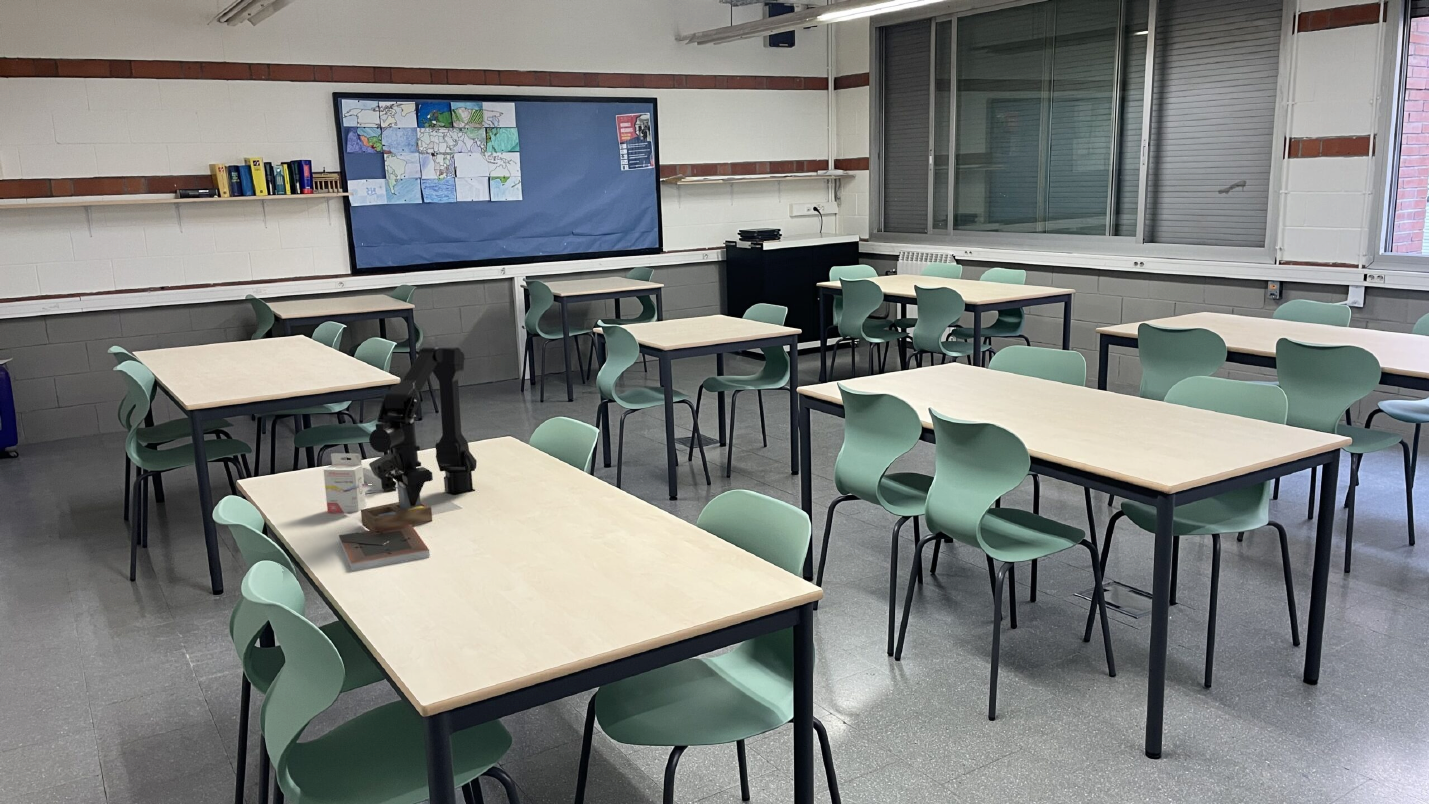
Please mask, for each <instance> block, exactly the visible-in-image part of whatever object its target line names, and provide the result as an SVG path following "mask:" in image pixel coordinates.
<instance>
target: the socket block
mask: <svg viewBox="0 0 1429 804" xmlns="http://www.w3.org/2000/svg"><path fill="white" fill-rule="evenodd" d="M360 517H361V525H362V527H364V528H365V529H367V531H371V530H377V529H383V528H389V527H395V526H401V525H407V524H411V525H412V526H417V525H421V524H426V523H431V522H433V515H432V510H431V507H430V505H428V504H426V503H425V502H423V501H421V506H417V507H413V508H408V509H407V510H402V509H400V508H399V501H398V502H397V501H396V502H392V503H387V504H382V505H377V506H373V507H372V506H371V507H367V508H363V509H362V510H360Z"/></svg>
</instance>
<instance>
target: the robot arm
mask: <svg viewBox="0 0 1429 804" xmlns="http://www.w3.org/2000/svg"><path fill="white" fill-rule="evenodd" d="M465 360H466V359H465V354H464V352H463V351H462V350H461V348H459V347H454V346H453V347H452V346H451V347H449V346H448V347H447V346H446V347H444V346H442V347H441V346H439V347H438V346H423V347H421V348H420V349H419V351H418V355H417V356H416V358H415V360H414V362H413V363H412V365H411V367H410V368H409V370H408V371H407V373H406V374H405V375H404V378H403V379H402V381H401V382H399V383H397V384H396V385H393V386H392V387H390V389H389V390H387V392H386V393H385V395H384V397H383V400H382V402H381V405H380V409H379V413H378V416H377V423H375V429H373V430H372V432H370V434H369V438H368V439H369V440H368V441H369V444H370V446H371V448H372V449H373V450H374V451H375V452H378V453H385V452H387V451H388V453H387V454H385V455H382V456H380V457H378V458H376V459H375V460H373V461H371V462H369V463H368V465H369V468H370V469H371V470H372V472H373V474H374V476H377V477H378V478H382V477H384V476H385V475H386V474H388V473H390V472H391V474H388V475H389V476H390V477H392V478H393V480H394V481H397V484H398V485H399V482H400V483H402V484H403V485H405V486H406V490H407V494H408V498H409V502H410V505H411V506H414V505H416V502H417V500H418V497H419V494H420V495H421V492H422V489H423V486H424V485H425V483H427V482H432V481H433V480H434V479H433V478H434V477H433V472H432V471H431V470H429V469H428V468H426V467H424V466H422V462H421V461H420V460H419V455H418V451H420V449H421V447H420V445H418V444H417V435H416V425H415V423H416V421H419V417H418V416H417V414H416V412H417V410H418V408H419V405H420V403H421V397H420V393H421V391H422V389H423V387H424V386H425V384H426V382H427V381H428V379H429V378H430V376H431V375H432V374H433V376H435V378H436V380H437V381H438V386H439V387H438V388H439V401H440V403H439V404H440V417H441V420H440V421H441V433H442V435H441V437H440V439H439V441H438V442H436V443H435V459H436V462H437V466H438V469H439V472H444V473H445V474H444V475H445V476H444V477H443V483H444V484H443V485H444V492H445V493H448V494H450V495H452V496H458V495H462V494H467V493H472V492H476V489H475V488H474V487H473V475H472V472H475V471H476V469H477V462H478V461H477V459H476V458H475V457H474V455H473V454H472V453H471V451H470V447H469V442H468V441H467V439H466V438H465V437H464V435H463V434H462V425H461V424H462V423H461V406H460V391H459V390H460V389H459V379H460V377H461V375H462V374H463V372H464V365H465V364H464V363H465Z"/></svg>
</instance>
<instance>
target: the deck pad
mask: <svg viewBox="0 0 1429 804" xmlns="http://www.w3.org/2000/svg"><path fill="white" fill-rule="evenodd" d="M429 506H430V507H431V510H432V516H433V515H439V514H443V513H447V512H451V511H457V510H461V509H463V507H462V506H460V505H458V504H456V503H454V502H452V501H445V502H440V503H436V504H431V505H429Z"/></svg>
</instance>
